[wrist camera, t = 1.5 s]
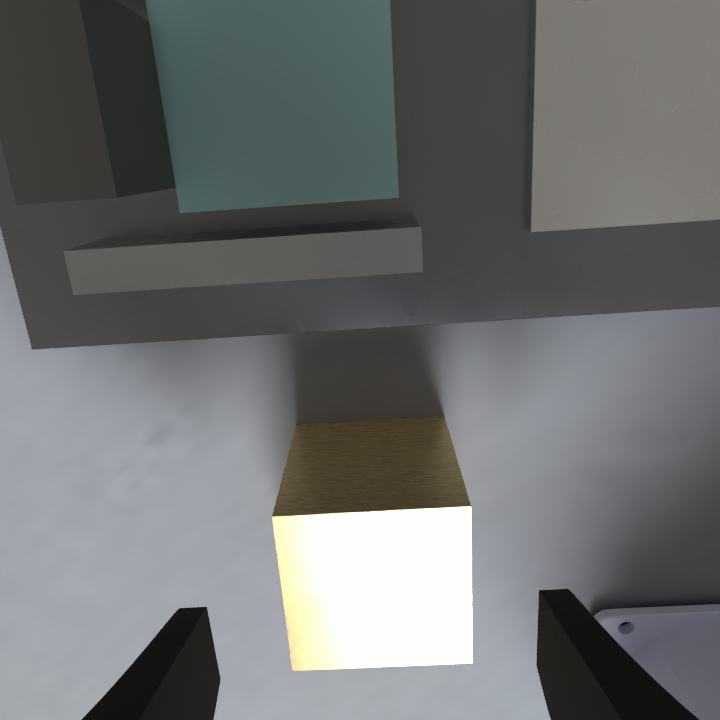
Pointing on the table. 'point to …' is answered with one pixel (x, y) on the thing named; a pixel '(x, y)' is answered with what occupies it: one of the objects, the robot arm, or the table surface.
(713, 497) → the table surface
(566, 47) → the press bed
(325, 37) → the teal and grey block
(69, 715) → the table surface
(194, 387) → the table surface
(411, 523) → the block
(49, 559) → the table surface
